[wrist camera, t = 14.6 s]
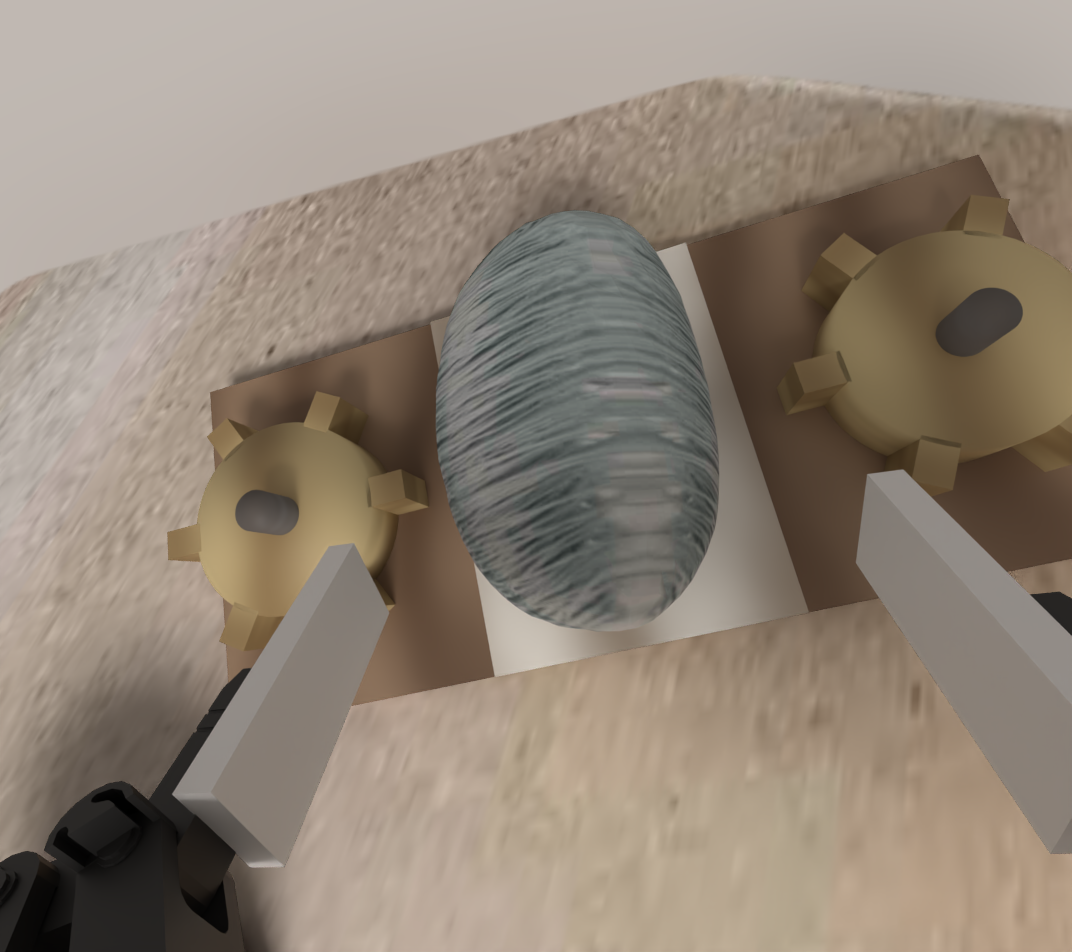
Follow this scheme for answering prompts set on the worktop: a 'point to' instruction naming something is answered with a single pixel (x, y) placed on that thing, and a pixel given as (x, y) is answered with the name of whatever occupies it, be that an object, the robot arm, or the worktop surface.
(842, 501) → the gear board
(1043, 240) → the worktop surface
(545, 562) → the grey streaked egg
